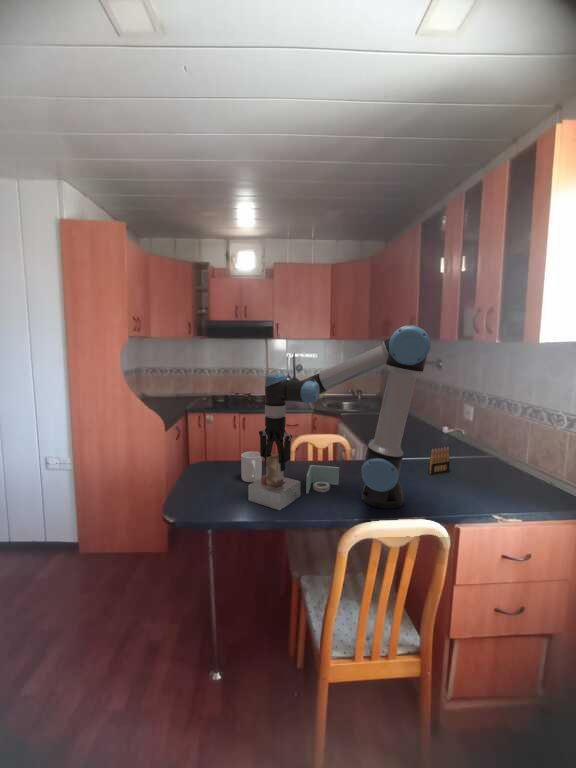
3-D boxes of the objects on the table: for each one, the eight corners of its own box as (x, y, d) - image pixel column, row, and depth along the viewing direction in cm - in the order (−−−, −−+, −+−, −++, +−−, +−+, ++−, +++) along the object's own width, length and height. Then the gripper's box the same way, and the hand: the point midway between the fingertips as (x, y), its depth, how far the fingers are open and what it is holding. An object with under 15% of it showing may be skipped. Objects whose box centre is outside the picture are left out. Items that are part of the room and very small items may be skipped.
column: (283, 497, 138) (283, 456, 136) (276, 502, 134) (276, 459, 132) (273, 494, 141) (273, 454, 139) (265, 498, 137) (266, 457, 135)
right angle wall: (306, 494, 142) (306, 475, 142) (309, 482, 154) (310, 465, 153) (337, 496, 140) (337, 478, 139) (338, 484, 152) (339, 467, 151)
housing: (300, 496, 140) (300, 476, 139) (279, 510, 128) (279, 488, 127) (270, 487, 147) (270, 468, 146) (248, 500, 135) (248, 479, 134)
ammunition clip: (431, 475, 163) (432, 449, 162) (428, 473, 165) (429, 447, 163) (449, 472, 167) (451, 446, 166) (446, 470, 169) (448, 445, 167)
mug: (244, 486, 148) (243, 461, 147) (240, 476, 159) (240, 452, 158) (264, 484, 150) (264, 459, 149) (259, 474, 162) (259, 450, 160)
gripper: (301, 417, 132) (300, 479, 135) (262, 411, 141) (262, 469, 144) (289, 421, 126) (289, 486, 129) (250, 414, 135) (250, 475, 138)
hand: (274, 477), depth 136 cm, fingers closed on column, 4 cm apart
